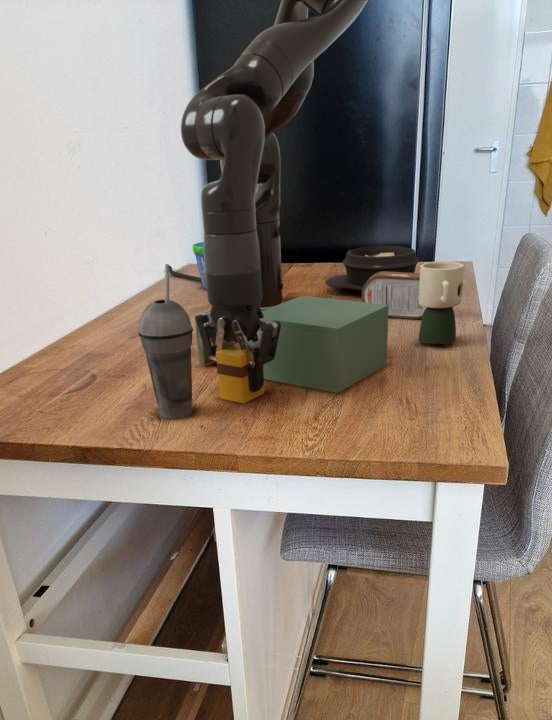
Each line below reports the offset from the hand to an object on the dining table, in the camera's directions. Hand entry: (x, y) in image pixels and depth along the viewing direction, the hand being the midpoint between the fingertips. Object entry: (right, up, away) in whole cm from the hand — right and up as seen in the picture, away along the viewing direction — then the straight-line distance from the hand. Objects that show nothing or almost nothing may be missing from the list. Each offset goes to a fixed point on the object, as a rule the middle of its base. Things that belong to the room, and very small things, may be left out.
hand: (241, 387), depth 104 cm
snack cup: (-9, +36, +68) cm, 77 cm away
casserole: (+29, +32, +57) cm, 72 cm away
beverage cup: (-9, -4, -4) cm, 11 cm away
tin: (+29, +20, +35) cm, 50 cm away
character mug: (+33, +11, +19) cm, 40 cm away
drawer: (+2, +8, +15) cm, 17 cm away
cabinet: (+12, +4, +9) cm, 16 cm away
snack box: (0, -1, +1) cm, 1 cm away
